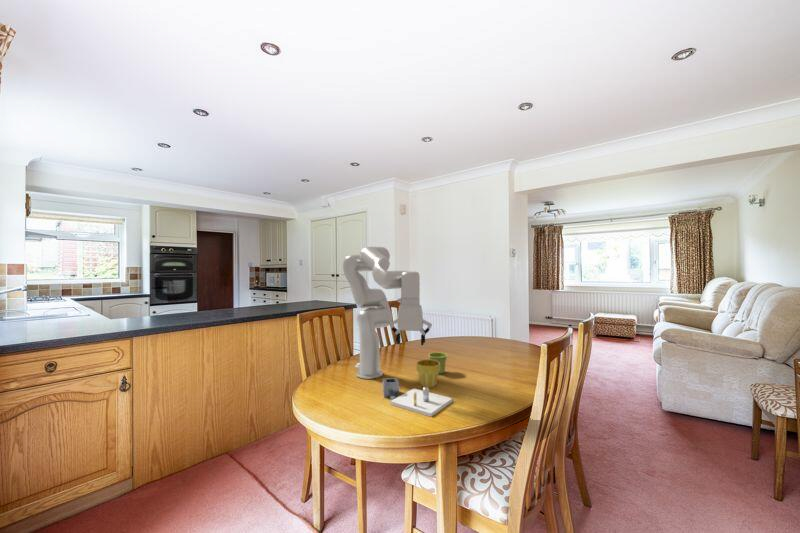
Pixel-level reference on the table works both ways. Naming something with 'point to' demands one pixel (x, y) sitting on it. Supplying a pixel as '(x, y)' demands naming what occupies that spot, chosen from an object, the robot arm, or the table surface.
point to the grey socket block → (391, 388)
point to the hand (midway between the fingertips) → (410, 344)
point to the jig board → (421, 402)
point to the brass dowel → (415, 399)
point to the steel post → (426, 394)
